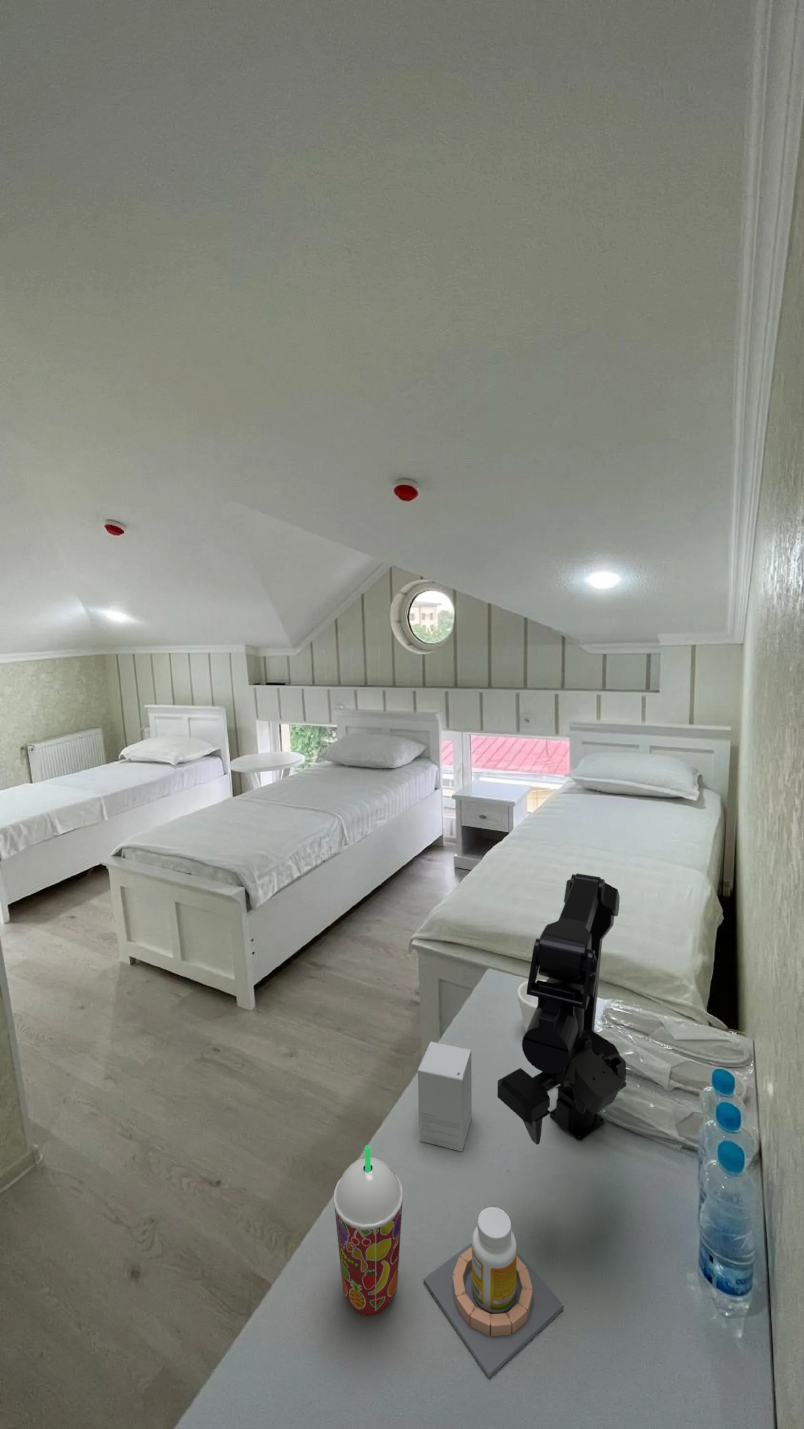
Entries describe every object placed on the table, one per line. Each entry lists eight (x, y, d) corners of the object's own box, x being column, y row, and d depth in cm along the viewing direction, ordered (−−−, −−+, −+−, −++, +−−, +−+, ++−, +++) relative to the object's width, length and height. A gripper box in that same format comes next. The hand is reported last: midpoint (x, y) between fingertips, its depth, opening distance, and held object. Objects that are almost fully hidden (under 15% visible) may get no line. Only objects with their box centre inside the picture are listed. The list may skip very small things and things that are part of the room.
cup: (510, 1022, 127) (510, 980, 125) (556, 1018, 128) (558, 977, 127) (525, 1055, 117) (526, 1011, 116) (575, 1051, 118) (576, 1006, 117)
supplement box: (472, 1118, 102) (473, 1049, 100) (462, 1154, 95) (462, 1080, 94) (430, 1107, 105) (430, 1039, 103) (417, 1141, 98) (416, 1069, 96)
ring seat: (494, 1229, 83) (494, 1216, 83) (563, 1309, 73) (563, 1295, 73) (423, 1283, 77) (423, 1269, 76) (488, 1378, 67) (489, 1363, 66)
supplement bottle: (521, 1281, 76) (523, 1212, 75) (508, 1324, 71) (509, 1252, 70) (480, 1260, 79) (481, 1194, 77) (465, 1301, 74) (465, 1231, 73)
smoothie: (328, 1273, 78) (323, 1132, 75) (388, 1246, 81) (386, 1111, 78) (348, 1342, 70) (345, 1189, 67) (414, 1310, 74) (413, 1163, 71)
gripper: (560, 1089, 71) (557, 1206, 74) (655, 1030, 82) (650, 1134, 84) (495, 1037, 81) (493, 1143, 83) (588, 990, 91) (584, 1085, 93)
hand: (558, 1126), depth 85 cm, fingers open, 9 cm apart
